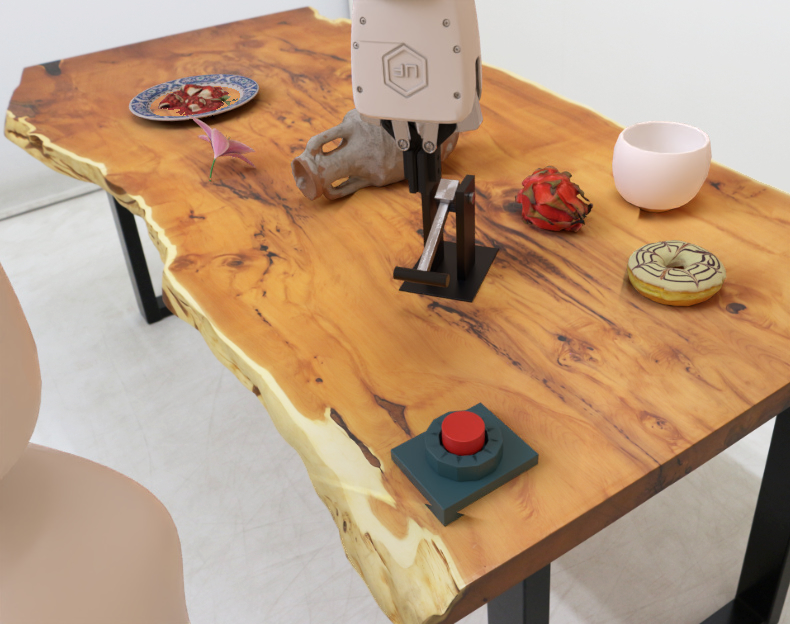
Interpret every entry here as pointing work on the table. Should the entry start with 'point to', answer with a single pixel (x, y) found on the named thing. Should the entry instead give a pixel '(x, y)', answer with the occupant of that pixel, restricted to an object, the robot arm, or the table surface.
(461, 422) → the button
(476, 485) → the button box
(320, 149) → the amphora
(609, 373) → the table surface
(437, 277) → the lever
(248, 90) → the ceramic plate
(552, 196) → the dragon fruit
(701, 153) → the cup
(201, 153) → the table surface
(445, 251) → the black lever stand
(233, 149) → the lily
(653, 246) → the decorated donut
